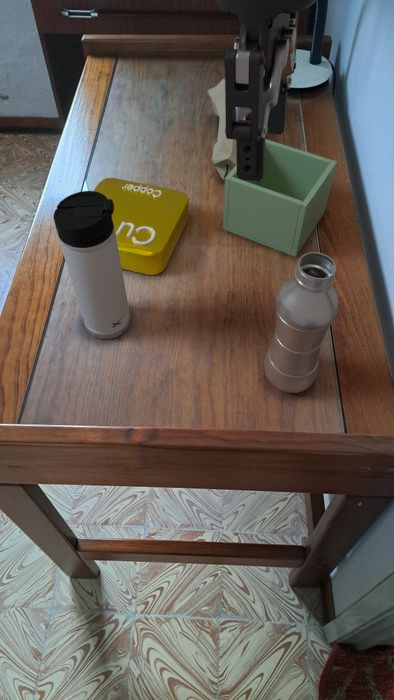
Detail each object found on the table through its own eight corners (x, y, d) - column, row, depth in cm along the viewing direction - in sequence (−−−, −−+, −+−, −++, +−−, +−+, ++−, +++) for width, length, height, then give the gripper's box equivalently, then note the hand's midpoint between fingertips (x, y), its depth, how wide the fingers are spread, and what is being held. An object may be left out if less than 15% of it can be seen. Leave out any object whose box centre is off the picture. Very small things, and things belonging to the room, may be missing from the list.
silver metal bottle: (290, 409, 62) (322, 303, 46) (251, 374, 65) (268, 262, 49) (324, 379, 64) (367, 268, 48) (285, 347, 67) (312, 232, 51)
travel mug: (131, 339, 68) (110, 224, 52) (82, 340, 68) (45, 225, 52) (134, 304, 72) (115, 185, 55) (87, 304, 72) (54, 186, 55)
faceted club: (260, 106, 99) (256, 193, 86) (218, 115, 102) (208, 200, 88) (251, 61, 92) (246, 148, 79) (206, 72, 95) (193, 158, 81)
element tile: (192, 214, 83) (191, 189, 79) (160, 279, 74) (158, 255, 70) (107, 196, 85) (102, 171, 81) (68, 257, 77) (60, 233, 73)
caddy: (324, 213, 83) (337, 161, 75) (295, 257, 77) (306, 206, 69) (254, 188, 86) (260, 137, 78) (222, 229, 81) (224, 177, 73)
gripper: (306, -59, 28) (288, 202, 40) (341, -104, 37) (318, 121, 49) (178, -56, 30) (197, 192, 42) (241, -99, 39) (242, 116, 51)
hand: (262, 153), depth 45 cm, fingers open, 8 cm apart
